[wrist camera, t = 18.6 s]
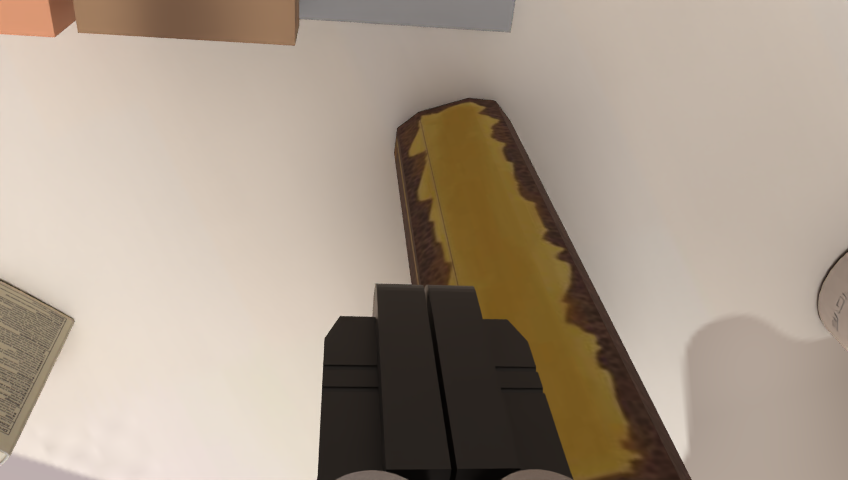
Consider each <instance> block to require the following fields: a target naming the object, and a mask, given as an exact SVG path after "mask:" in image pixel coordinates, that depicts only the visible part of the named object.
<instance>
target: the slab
mask: <svg viewBox="0 0 848 480" xmlns="http://www.w3.org/2000/svg"><path fill="white" fill-rule="evenodd" d="M73 4H74V11H75V17H76V23H77V29H78V33H92V34H109V35H126V36H143V37H159V38H176V39H193V40H210V41H226V42H243V43H260V44H277V45H293V46H295V43H296V38H297V33H298V29H299V0H73Z"/></svg>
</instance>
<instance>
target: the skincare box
mask: <svg viewBox="0 0 848 480" xmlns="http://www.w3.org/2000/svg"><path fill="white" fill-rule="evenodd" d="M73 324H74V320H73V319H71V318H69V317H68V316H66V315H64V314H62V313H61V312H59V311H57V310H55V309H54V308H52V307H50V306H48V305H46V304H44V303H42V302H40V301H38V300H37V299H35V298H33V297H31V296H29V295H27V294H25V293H24V292H22V291H20V290H18V289H16V288H14V287H12V286H10V285H8V284H6V283H4V282H2V281H0V467H1V466H2V465H3V463H4V462H5V461H6V460H7V459H8V458H9V457H10V455H11V453H12V451H13V449H14V447H15V445H16V443H17V441H18V439H19V437H20V435H21V433H22V431H23V428H24V426H25V424H26V422H27V420H28V418H29V416H30V414H31V412H32V410H33V408H34V406H35V404H36V401H37V399H38V397H39V395H40V393H41V391H42V389H43V387H44V385H45V383H46V381H47V378H48V376H49V374H50V372H51V370H52V368H53V366H54V364H55V362H56V360H57V358H58V356H59V354H60V352H61V349H62V347H63V345H64V343H65V341H66V339H67V336H68V334H69V332H70V330H71V328H72V326H73Z"/></svg>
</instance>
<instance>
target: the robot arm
mask: <svg viewBox="0 0 848 480" xmlns="http://www.w3.org/2000/svg"><path fill="white" fill-rule="evenodd" d="M818 311H819V316H820V319H821V321H822V323H823V324H824V326H825V328H826V329H827V330H828V331H829V332H830V333H831V334H832V335H833V336H834V337H835V339H836V340H837V341H838V342H839V343H840V344H841V345H842V346H843V347H844V349H845V350H846V351H847V352H848V252H847V253H846V254H845V255H844V256H843V257H842V258H841V259H840V260H839V261H838V262H837V263H836V265H835V266H834V267H833V268H832V270H831V271H830V272H829V274H828V276H827V278H826V279H825V281H824V283H823V285H822V288H821V291H820V294H819V300H818ZM317 480H574V479H573V477H572V474H571V471H570V468H569V465H568V462H567V459H566V456H565V453H564V450H563V447H562V444H561V441H560V438H559V435H558V432H557V429H556V426H555V423H554V420H553V417H552V413H551V410H550V407H549V404H548V401H547V398H546V395H545V393H543V386H542V383H541V380H540V377H539V374H538V372H536V365H535V362H534V359H533V355H532V352H531V349H530V346H529V343H528V341H527V340H526V339H525V338H524V337H523V336H522V335H521V333H520V332H519V331H518V330H517V329H516V328H515V327H514V326H513V325H512V324H511V323H510V322H509V321H508V320H507V319H483V317H482V313H481V309H480V306H479V302H478V298H477V294H476V290H475V288H474V286H455V285H426V286H425V289H424V286H423V285H408V284H375V290H374V303H373V317H353V316H340V317H339V318H338V320H337V321H336V323H335V324H334V326H333V327H332V329H331V330H330V331H329V333H328V334H327V336H326V337H325V341H324V361H323V381H322V401H321V421H320V441H319V461H318V477H317Z"/></svg>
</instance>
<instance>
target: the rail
mask: <svg viewBox="0 0 848 480" xmlns="http://www.w3.org/2000/svg"><path fill="white" fill-rule="evenodd" d="M514 6H515V0H299V19H311V20H326V21H342V22H358V23H373V24H389V25H404V26H420V27H435V28H451V29H466V30H482V31H498V32H511V26H512V19H513V13H514ZM75 20H76V17H75V11H74V4H73V0H0V34H9V35H26V36H43V37H56V36H57V35H58V34H59V33H61V32H62V31H63V30H64V29H66V28H67V27H68V26H69V25H70V24H72V23H73V22H74V21H75Z"/></svg>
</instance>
